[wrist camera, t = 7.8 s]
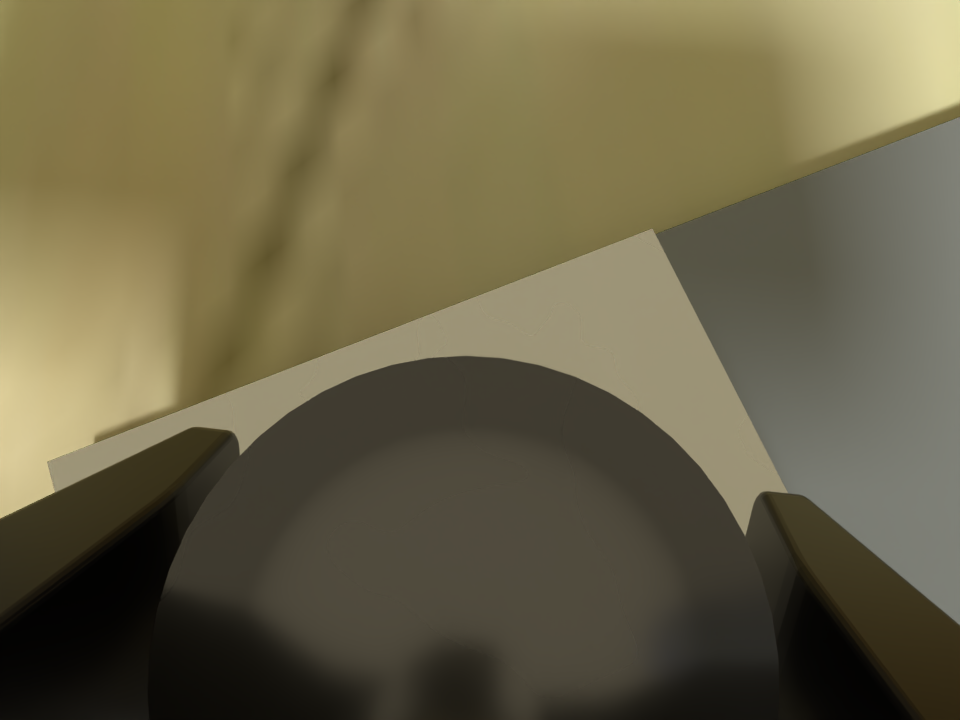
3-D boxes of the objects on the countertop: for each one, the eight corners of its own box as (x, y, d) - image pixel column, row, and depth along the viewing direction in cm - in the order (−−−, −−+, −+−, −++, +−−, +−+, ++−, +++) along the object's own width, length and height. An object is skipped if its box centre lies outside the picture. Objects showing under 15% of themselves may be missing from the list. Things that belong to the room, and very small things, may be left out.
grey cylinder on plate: (846, 814, 15) (1541, 1136, 5) (325, 1055, 14) (-100, 2025, 4) (615, 332, 18) (766, -92, 8) (163, 510, 17) (-340, 298, 7)
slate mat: (1134, 56, 20) (1146, 44, 19) (1531, 592, 16) (1556, 591, 16) (92, 459, 17) (83, 455, 17) (292, 1179, 14) (286, 1194, 14)
